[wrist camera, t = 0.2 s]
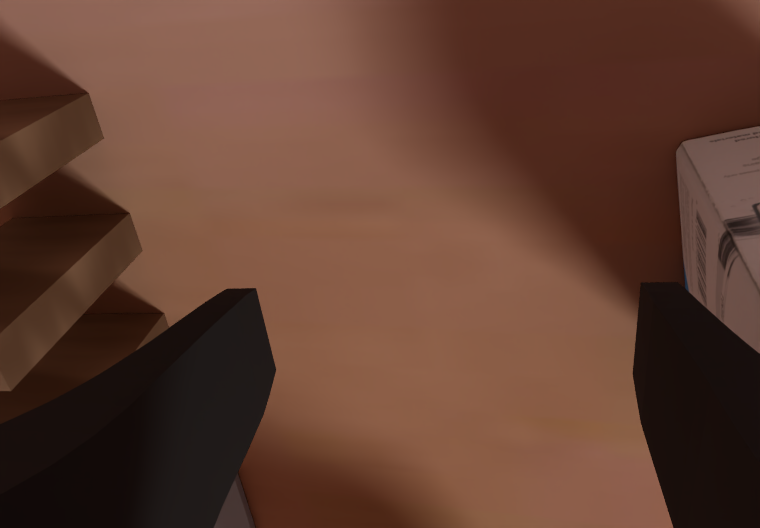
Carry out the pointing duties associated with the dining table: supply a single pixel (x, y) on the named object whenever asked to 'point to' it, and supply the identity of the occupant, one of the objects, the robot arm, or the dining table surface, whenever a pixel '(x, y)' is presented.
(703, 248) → the ink box
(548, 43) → the dining table surface
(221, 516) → the slot pad
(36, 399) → the domino
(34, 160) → the domino
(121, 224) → the domino
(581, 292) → the dining table surface
